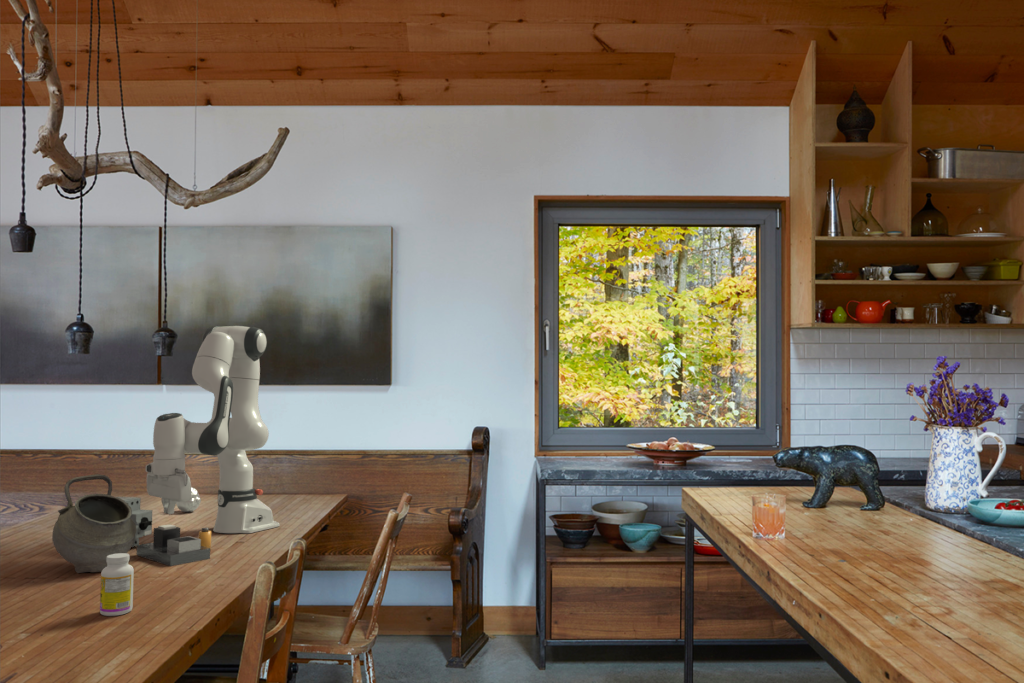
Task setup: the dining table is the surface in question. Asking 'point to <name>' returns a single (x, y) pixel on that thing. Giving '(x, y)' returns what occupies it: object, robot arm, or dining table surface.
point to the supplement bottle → (116, 586)
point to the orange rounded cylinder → (205, 537)
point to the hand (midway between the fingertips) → (168, 513)
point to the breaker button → (166, 527)
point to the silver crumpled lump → (190, 502)
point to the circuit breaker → (139, 518)
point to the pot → (93, 528)
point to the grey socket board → (173, 548)
